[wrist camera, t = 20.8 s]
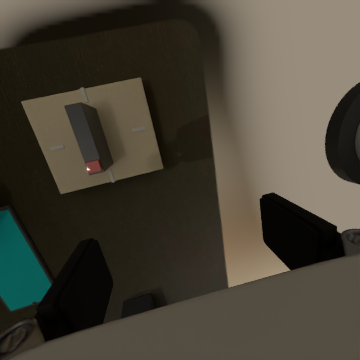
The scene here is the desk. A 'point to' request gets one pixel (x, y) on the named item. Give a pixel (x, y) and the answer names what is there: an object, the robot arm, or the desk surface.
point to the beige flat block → (112, 126)
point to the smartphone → (20, 265)
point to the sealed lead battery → (89, 137)
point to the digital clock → (137, 306)
